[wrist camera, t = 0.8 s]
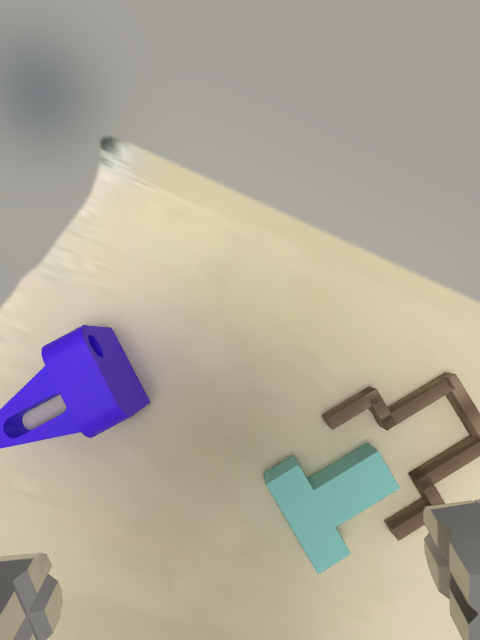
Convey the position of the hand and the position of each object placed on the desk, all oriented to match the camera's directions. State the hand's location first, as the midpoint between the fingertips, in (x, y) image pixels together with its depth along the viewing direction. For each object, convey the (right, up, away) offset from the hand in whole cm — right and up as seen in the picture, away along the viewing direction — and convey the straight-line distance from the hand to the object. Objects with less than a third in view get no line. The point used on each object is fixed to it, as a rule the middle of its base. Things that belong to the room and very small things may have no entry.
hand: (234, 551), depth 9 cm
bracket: (-22, -5, +43) cm, 49 cm away
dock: (+22, -10, +43) cm, 50 cm away
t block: (+12, -16, +43) cm, 47 cm away
